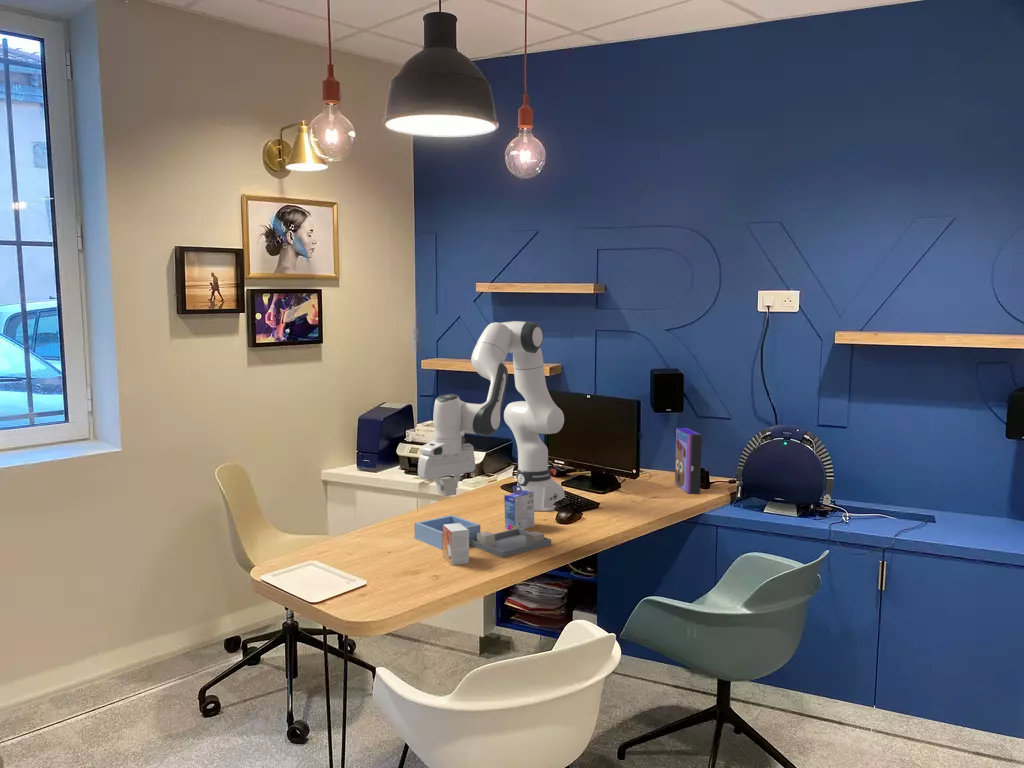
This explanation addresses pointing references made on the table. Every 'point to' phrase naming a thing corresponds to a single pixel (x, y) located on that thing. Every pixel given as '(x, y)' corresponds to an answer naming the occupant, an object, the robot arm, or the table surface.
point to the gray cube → (534, 537)
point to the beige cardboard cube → (448, 486)
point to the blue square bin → (433, 529)
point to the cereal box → (688, 460)
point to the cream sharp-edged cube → (486, 538)
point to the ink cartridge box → (519, 509)
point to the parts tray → (510, 543)
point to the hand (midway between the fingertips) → (447, 489)
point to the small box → (455, 544)
